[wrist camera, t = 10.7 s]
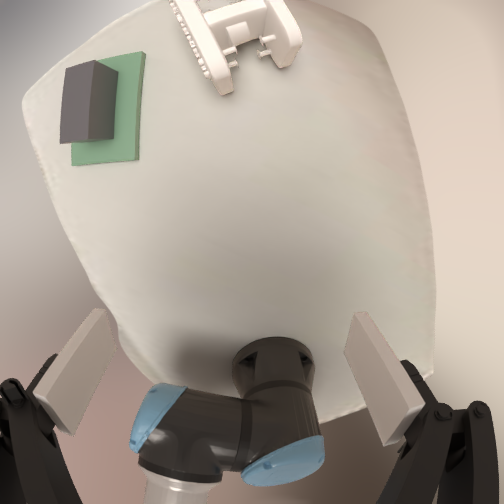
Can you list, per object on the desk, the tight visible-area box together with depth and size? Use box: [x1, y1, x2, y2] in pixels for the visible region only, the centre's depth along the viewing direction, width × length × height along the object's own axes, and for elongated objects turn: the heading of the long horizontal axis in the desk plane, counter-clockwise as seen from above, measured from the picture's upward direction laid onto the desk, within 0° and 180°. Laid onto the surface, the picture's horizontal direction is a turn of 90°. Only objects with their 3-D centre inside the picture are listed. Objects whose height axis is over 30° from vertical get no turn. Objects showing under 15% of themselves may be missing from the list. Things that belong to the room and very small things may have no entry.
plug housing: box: [60, 60, 118, 144], centre depth 26 cm, size 10×4×7 cm, turn 177°
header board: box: [71, 51, 146, 166], centre depth 29 cm, size 16×11×6 cm
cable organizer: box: [168, 0, 303, 95], centre depth 23 cm, size 15×11×12 cm
